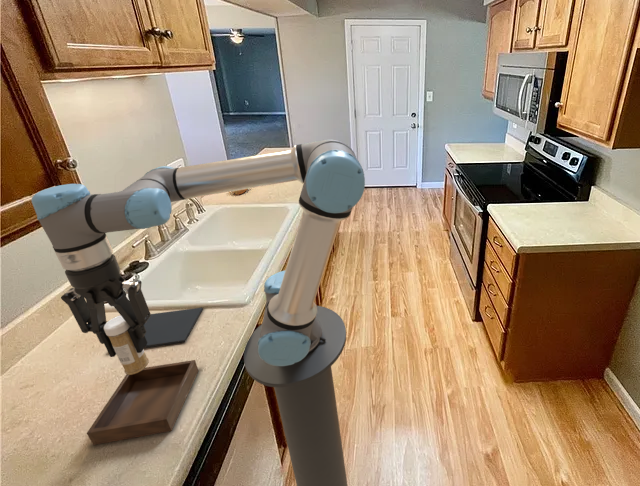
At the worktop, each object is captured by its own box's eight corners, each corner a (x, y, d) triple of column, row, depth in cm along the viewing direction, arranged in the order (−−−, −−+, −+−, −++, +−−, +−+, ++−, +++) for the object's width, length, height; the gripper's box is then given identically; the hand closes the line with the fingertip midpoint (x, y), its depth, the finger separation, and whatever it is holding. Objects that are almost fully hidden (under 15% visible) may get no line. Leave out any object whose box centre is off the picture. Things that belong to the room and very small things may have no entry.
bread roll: (253, 186, 218) (251, 174, 215) (246, 194, 204) (244, 182, 201) (238, 187, 217) (235, 175, 214) (230, 195, 203) (227, 183, 200)
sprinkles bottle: (154, 361, 77) (135, 315, 72) (134, 378, 72) (112, 331, 68) (140, 356, 78) (120, 311, 73) (119, 373, 74) (97, 326, 69)
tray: (198, 370, 88) (195, 359, 86) (171, 430, 73) (166, 419, 72) (134, 380, 85) (129, 369, 84) (93, 445, 71) (86, 433, 70)
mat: (203, 309, 110) (202, 307, 109) (185, 342, 97) (184, 340, 97) (137, 317, 107) (136, 315, 106) (109, 353, 94) (108, 350, 94)
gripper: (21, 279, 60) (72, 371, 68) (128, 266, 63) (164, 357, 71) (53, 256, 67) (96, 343, 75) (148, 246, 69) (179, 330, 78)
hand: (129, 349), depth 73 cm, fingers closed on sprinkles bottle, 5 cm apart
